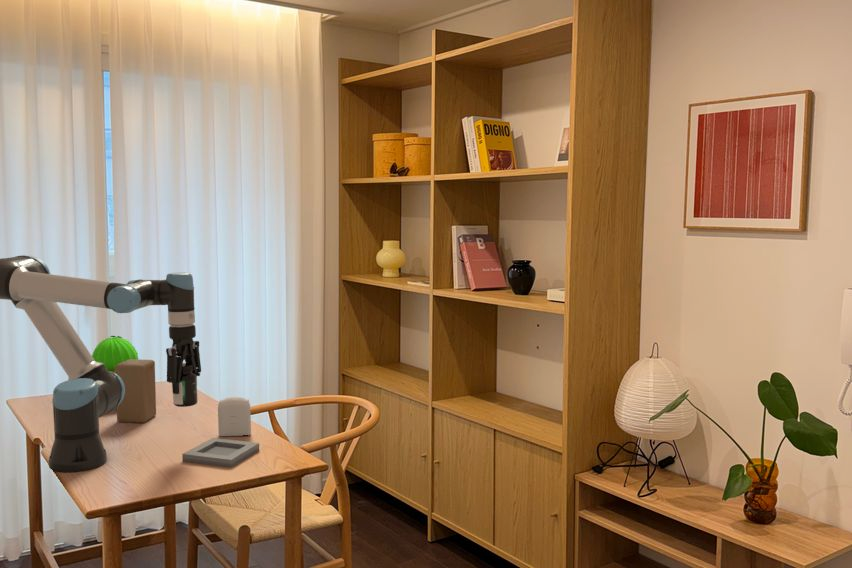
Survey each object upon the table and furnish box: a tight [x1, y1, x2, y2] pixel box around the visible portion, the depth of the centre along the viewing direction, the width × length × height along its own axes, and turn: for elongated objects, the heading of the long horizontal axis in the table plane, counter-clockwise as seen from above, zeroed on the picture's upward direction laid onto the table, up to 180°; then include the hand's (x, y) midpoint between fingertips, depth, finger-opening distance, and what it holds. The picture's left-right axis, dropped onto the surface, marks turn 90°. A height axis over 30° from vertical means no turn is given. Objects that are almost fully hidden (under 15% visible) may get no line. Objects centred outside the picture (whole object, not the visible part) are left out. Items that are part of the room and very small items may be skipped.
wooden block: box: [115, 358, 157, 424], centre depth 266 cm, size 10×10×20 cm
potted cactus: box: [91, 335, 139, 374], centre depth 288 cm, size 22×22×25 cm
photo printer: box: [217, 396, 252, 437], centre depth 249 cm, size 10×4×12 cm, turn 96°
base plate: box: [181, 437, 260, 468], centre depth 230 cm, size 16×16×2 cm
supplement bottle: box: [173, 362, 198, 408], centre depth 232 cm, size 7×7×12 cm
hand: (185, 400), depth 232 cm, fingers closed on supplement bottle, 7 cm apart
